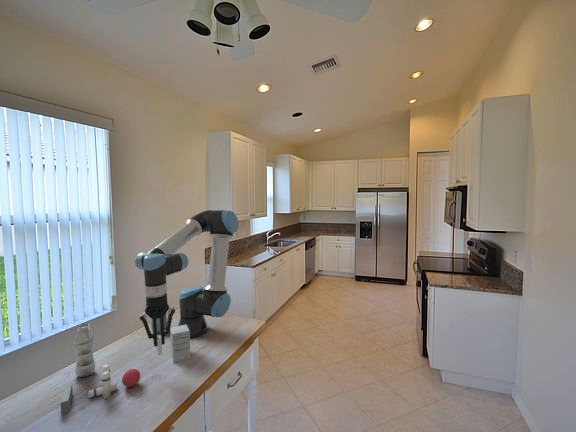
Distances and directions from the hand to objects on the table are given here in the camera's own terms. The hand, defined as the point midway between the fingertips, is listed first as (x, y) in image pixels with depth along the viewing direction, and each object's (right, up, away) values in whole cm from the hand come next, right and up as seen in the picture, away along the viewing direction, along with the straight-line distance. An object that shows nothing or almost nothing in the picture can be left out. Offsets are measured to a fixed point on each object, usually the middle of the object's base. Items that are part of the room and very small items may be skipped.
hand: (159, 352), depth 113 cm
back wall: (-25, -11, -15) cm, 31 cm away
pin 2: (-14, -10, -11) cm, 21 cm away
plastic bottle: (-30, -10, +2) cm, 32 cm away
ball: (-8, -7, -5) cm, 12 cm away
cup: (-18, -7, +39) cm, 44 cm away
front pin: (-12, -9, -7) cm, 17 cm away
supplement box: (+3, -9, +15) cm, 17 cm away
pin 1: (-16, -10, -7) cm, 20 cm away
